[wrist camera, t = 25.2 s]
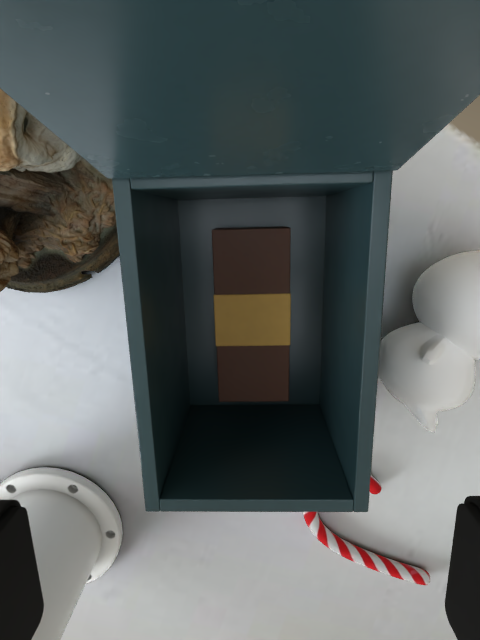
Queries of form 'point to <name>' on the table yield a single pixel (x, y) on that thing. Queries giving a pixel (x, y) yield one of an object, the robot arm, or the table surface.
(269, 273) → the chocolate bar
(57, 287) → the owl pair sculpture
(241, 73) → the bin lid
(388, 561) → the candy cane
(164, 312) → the box
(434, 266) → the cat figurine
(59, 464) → the table surface
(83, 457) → the table surface
